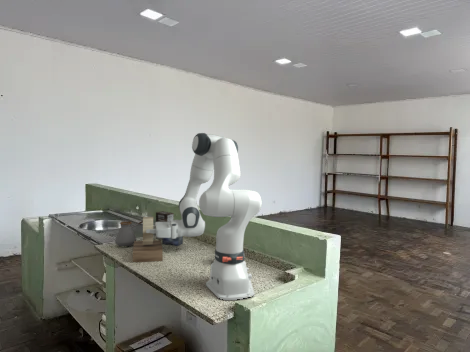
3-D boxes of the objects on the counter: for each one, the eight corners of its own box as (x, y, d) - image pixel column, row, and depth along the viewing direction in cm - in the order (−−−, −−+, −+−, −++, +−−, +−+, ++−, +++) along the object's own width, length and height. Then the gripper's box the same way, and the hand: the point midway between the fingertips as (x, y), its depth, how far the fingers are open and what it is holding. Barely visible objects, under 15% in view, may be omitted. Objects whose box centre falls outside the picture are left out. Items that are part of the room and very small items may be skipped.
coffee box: (154, 238, 200) (155, 212, 199) (161, 236, 206) (162, 210, 205) (166, 240, 196) (167, 214, 195) (173, 238, 202) (173, 212, 200)
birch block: (153, 244, 165) (153, 218, 164) (142, 244, 164) (143, 219, 163) (152, 241, 170) (153, 216, 169) (142, 241, 169) (143, 217, 168)
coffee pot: (117, 249, 176) (118, 221, 175) (112, 243, 186) (112, 217, 185) (156, 244, 188) (156, 218, 187) (149, 239, 198) (149, 214, 197)
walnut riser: (162, 260, 160) (162, 250, 159) (132, 262, 156) (132, 252, 156) (160, 249, 179) (160, 240, 178) (134, 250, 175) (134, 241, 175)
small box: (161, 244, 188) (161, 226, 187) (167, 241, 194) (167, 224, 193) (178, 246, 185) (178, 228, 184) (183, 243, 191) (183, 225, 190)
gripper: (172, 218, 180) (146, 219, 176) (175, 227, 160) (146, 227, 156) (172, 229, 180) (146, 230, 176) (175, 239, 160) (146, 240, 157)
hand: (146, 229), depth 166 cm, fingers closed on birch block, 5 cm apart
